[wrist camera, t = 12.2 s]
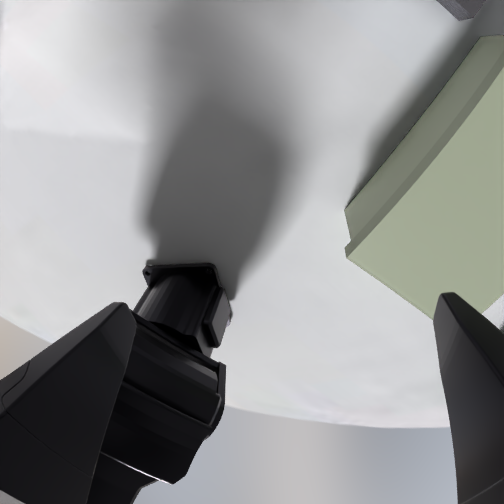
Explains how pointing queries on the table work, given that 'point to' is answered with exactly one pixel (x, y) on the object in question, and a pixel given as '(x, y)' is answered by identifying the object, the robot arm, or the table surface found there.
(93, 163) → the table surface
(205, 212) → the table surface
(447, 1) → the dark grey square frame
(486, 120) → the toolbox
